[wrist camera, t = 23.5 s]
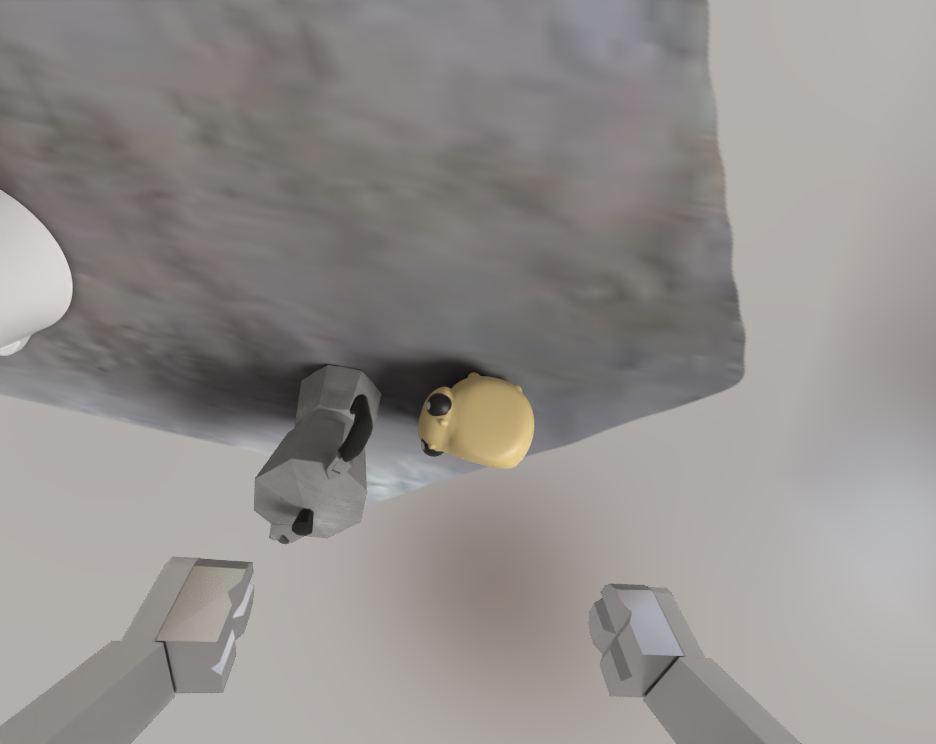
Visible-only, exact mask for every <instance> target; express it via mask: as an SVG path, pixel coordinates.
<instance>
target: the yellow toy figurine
mask: <svg viewBox="0 0 936 744" xmlns="http://www.w3.org/2000/svg"><path fill="white" fill-rule="evenodd" d="M533 433H534V416H533V411H532V408H531V406H530V404H529V402H528V400H527V398H526V397H525V396H524V395H523V393H522V389H521V387H520V386H518V385H512V384H510V383H508V382H506V381H504V380H502V379H499V378H494V377H488V376H480V375H479V374H478V373H475V372H473V373H470V374H469V375H468V378H466V379H464V380H462V381H460V382H458V383H457V384H455V385H454V386H453V387H452V388H448V387H440V388H438V389H436V390H435V391H433V392H432V393H431V394H430V395H429V396H428V398H427V399H426V401H425V403H424V405H423V408H422V411H421V415H420V419H419V424H418V436H419V438H420V440H421V447H422V450H423V451H424V453H426V454H427V455H429V456H433V457H435V456H439V455H441V454H442V453H443V452H445V453H448V454H450V455H453V456H455V457H458V458H461V459H464V460H467V461H470V462H474V463H477V464H481V465H485V466H489V467H494V468H499V469H510V468H513V467H515V466H516V465H517V464H518V463H519V462H520V461H521V460H522V459H523V458H524V456H525V455H526V453H527V451H528V449H529V447H530V444H531V442H532V438H533Z"/></svg>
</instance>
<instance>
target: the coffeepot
mask: <svg viewBox="0 0 936 744" xmlns="http://www.w3.org/2000/svg"><path fill="white" fill-rule="evenodd" d="M380 399H381V393H380V391H379V390H378V389H377V387H376V386H375V385H374V383H373V382H372V381H371V380H370V379H369V378H368V377H367V376H366V375H365V374H364V373H363V372H362V371H360V370H357V369H353V368H349V367H345V366H331V365H327V366H325V367H323V368H321V369H319V370H317V371H315V372H314V373H312V374H311V375H310V376H308V377H307V378H305V379H303V380H302V381H301V387H300V394H299V401H298V407H297V414H296V421H295V428H294V429H293V430H292V431H290V432H288V434H287V435H286V436H285V438H284V439H283V441H282V442H281V443H280V445H279V446H278V447H277V449H276V450H275V452H274V453H273V454H272V456H271V457H270V459H269V460H268V461H267V463H266V464H265V466H264V467H263V468H262V470H261V471H260V472H259V474H258V475H257V477H256V478H255V495H254V511H256V512H257V513H258V514H259V515H261V516H262V517H263V518H265V519H266V520H267V521H269V522H270V523H271V529H270V536H269V538H271V539H272V540H278V541H279V542H280V543H283V544H288V543H290V542H291V543H292V542H294V541H296V540H298V539H300V538H302V537H304V536H310V537H322V538H329V537H331V536H333V535H335V534H337V533H339V532H341V531H343V530H345V529H347V528H349V527H351V526H353V525H355V524H357V523H359V522H361V518H362V514H363V509H364V504H365V499H366V494H367V488H366V461H365V445H366V443H367V441H368V439H369V437H370V435H371V432H372V429H373V426H374V424H375V422H376V419H377V415H378V410H379V405H380Z"/></svg>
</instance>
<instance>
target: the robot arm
mask: <svg viewBox="0 0 936 744" xmlns="http://www.w3.org/2000/svg"><path fill="white" fill-rule="evenodd" d="M72 290H73V288H72V277H71V273H70V269H69V266H68V263H67V261H66V258H65V256H64V254H63V252H62V250H61V249H60V247H59V245H58V244H57V242H56V241H55V239H54V238H53V236H52V235H51V234H50V232H49V231H48V230H47V229H46V228H45V226H44V225H43V224H42V223H41V222H40V221H39V220H38V219H37V218H36V217H35V216H34V215H33V214H32V213H31V212H30V211H29V210H27V209H26V208H25V207H24V206H23V205H21V204H20V203H19V202H18V201H16V200H15V199H14V198H12V197H11V196H9V195H8V194H6V193H5V192H3V191H2V190H0V355H4V356H6V355H11V354H13V353H15V352H17V351H20V350H21V349H22V348H23V347H24V346H25V344H26V343H27V341H28V340H29V338H30V336H31V335H32V334H34V333H35V332H37V331H39V330H42V329H44V328H47V327H49V326H51V325H52V324H54V323H55V322H57V321H58V320H59V319H60V318H61V317H62V316H63V315H64V314H65V312H66V311H67V309H68V307H69V305H70V302H71V298H72ZM252 575H253V562H241V561H227V560H212V559H201V558H188V557H172V558H171V559H170V560H169V561H168V562H167V563H166V564H165V565H164V567H163V569H162V571H161V572H160V574H159V576H158V578H157V579H156V581H155V583H154V584H153V586H152V588H151V590H150V591H149V593H148V595H147V597H146V598H145V600H144V602H143V604H142V606H141V607H140V609H139V611H138V612H137V614H136V616H135V617H134V619H133V621H132V622H131V625H130V626H129V628H128V629H127V631H126V633H125V635H124V636H123V638H122V640H121V641H111V642H110V643H109V644H107V645H106V646H105V647H103V648H102V649H101V650H99V651H98V652H97V653H95V654H94V655H93V656H91V657H90V658H89V659H88V660H86V661H85V662H84V663H82V664H81V665H80V666H78V667H77V668H76V669H75V670H73V671H72V672H71V673H69V674H68V675H67V676H65V677H64V678H63V679H61V680H60V681H59V682H57V683H56V684H55V685H54V686H52V687H51V688H49V689H48V690H47V691H46V692H44V693H43V694H42V695H40V696H39V697H38V698H36V699H35V700H34V701H32V702H31V703H30V704H28V705H27V706H26V707H25V708H23V709H22V710H21V711H19V712H18V713H17V714H15V715H14V716H13V717H11V718H10V719H9V720H8V721H6V722H5V723H4V724H2V725H1V726H0V744H131V743H132V742H133V741H134V739H135V738H136V737H137V736H138V735H139V734H140V733H141V732H142V731H143V730H144V729H145V728H146V727H147V726H148V725H149V724H150V723H151V721H152V720H153V719H154V718H155V717H156V716H157V715H158V714H159V713H160V712H161V711H162V710H163V709H164V707H166V706H167V704H168V703H169V702H170V701H171V700H172V699H173V698H174V697H175V694H174V693H220V692H223V691H224V688H225V685H226V682H227V680H228V677H229V674H230V671H231V668H232V666H233V663H234V660H235V657H236V647H235V640H236V639H237V638H239V637H240V636H241V635H242V634H243V633H244V631H245V628H246V625H247V622H248V619H249V616H250V612H251V608H252V604H253V597H254V585H253V584H252V583H251V582H250V580H251V577H252ZM601 594H602V596H603V598H602V599H600V600H598V601H597V602H595V603H594V604H593V606H592V608H591V610H590V613H589V629H590V635H591V638H592V641H593V644H594V645H595V646H596V647H597V648H598V650H599V651H600V652H601V653H602V654H603V655H602V659H601V662H600V667H601V670H602V673H603V676H604V679H605V682H606V685H607V688H608V691H609V694H610V696H619V697H643V698H644V699H643V700H644V702H645V703H646V704H647V706H648V707H649V708H650V710H651V711H652V712H653V713H654V715H655V716H656V717H657V719H658V720H659V721H660V723H661V724H662V725H663V727H664V728H665V729H666V731H667V732H668V733H669V735H670V736H671V737H672V739H673V740H674V741H675V742H676V744H801V743H800V742H799V741H798V740H797V739H796V738H795V737H794V736H793V735H792V734H791V733H790V732H789V731H788V730H786V729H785V728H784V727H783V726H782V725H781V724H780V723H779V722H778V721H777V720H776V719H775V718H774V717H773V716H771V715H770V714H769V713H768V712H767V711H766V710H765V709H764V708H763V707H762V706H761V705H760V704H759V703H758V702H757V701H756V700H755V699H754V698H753V697H752V696H750V695H749V694H748V693H747V692H746V691H745V690H744V689H743V688H742V687H741V686H740V685H739V684H737V682H736V681H735V680H733V679H732V678H731V677H730V676H729V675H728V674H727V673H726V672H725V671H724V670H723V669H722V668H721V667H720V666H718V664H717V663H715V662H714V661H713V660H712V659H711V658H705V656H704V654H703V652H702V651H701V649H700V647H699V645H698V643H697V641H696V639H695V637H694V635H693V633H692V631H691V629H690V627H689V625H688V624H687V622H686V620H685V618H684V616H683V614H682V612H681V610H680V608H679V606H678V604H677V602H676V601H675V598H674V597H673V595H672V593H671V592H670V591H669V590H668V589H667V588H665V587H658V586H645V585H627V584H608V585H605V586H604V588H603V589H602V591H601Z"/></svg>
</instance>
